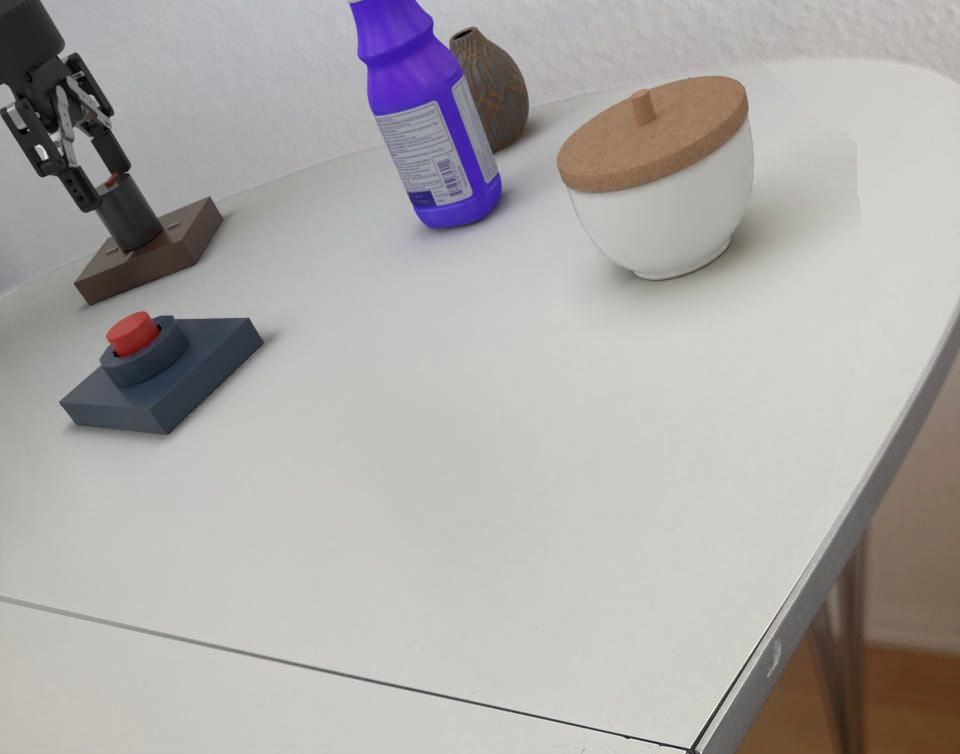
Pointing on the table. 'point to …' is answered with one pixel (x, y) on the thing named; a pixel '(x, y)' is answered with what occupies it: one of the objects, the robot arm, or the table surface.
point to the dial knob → (126, 212)
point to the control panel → (151, 253)
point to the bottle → (425, 114)
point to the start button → (132, 333)
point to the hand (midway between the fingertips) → (109, 190)
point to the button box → (162, 375)
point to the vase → (492, 86)
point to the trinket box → (663, 175)
